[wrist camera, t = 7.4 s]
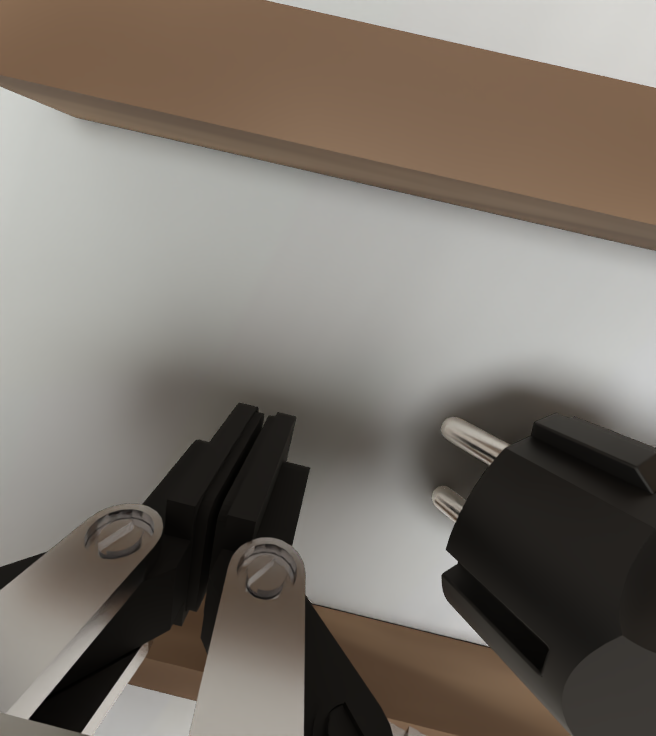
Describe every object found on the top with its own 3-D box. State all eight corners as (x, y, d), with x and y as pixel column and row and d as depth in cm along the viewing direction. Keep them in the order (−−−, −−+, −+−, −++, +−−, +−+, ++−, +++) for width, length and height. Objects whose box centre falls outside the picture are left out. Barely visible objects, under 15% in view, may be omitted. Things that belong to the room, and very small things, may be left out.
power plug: (846, 580, 10) (694, 992, 5) (572, 451, 16) (364, 563, 11) (970, 409, 8) (966, 768, 3) (607, 335, 14) (373, 398, 9)
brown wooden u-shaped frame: (703, 729, 14) (785, 848, 12) (96, 579, 15) (33, 660, 12) (1204, 288, 8) (1677, 317, 5) (71, 30, 8) (-85, -79, 5)
